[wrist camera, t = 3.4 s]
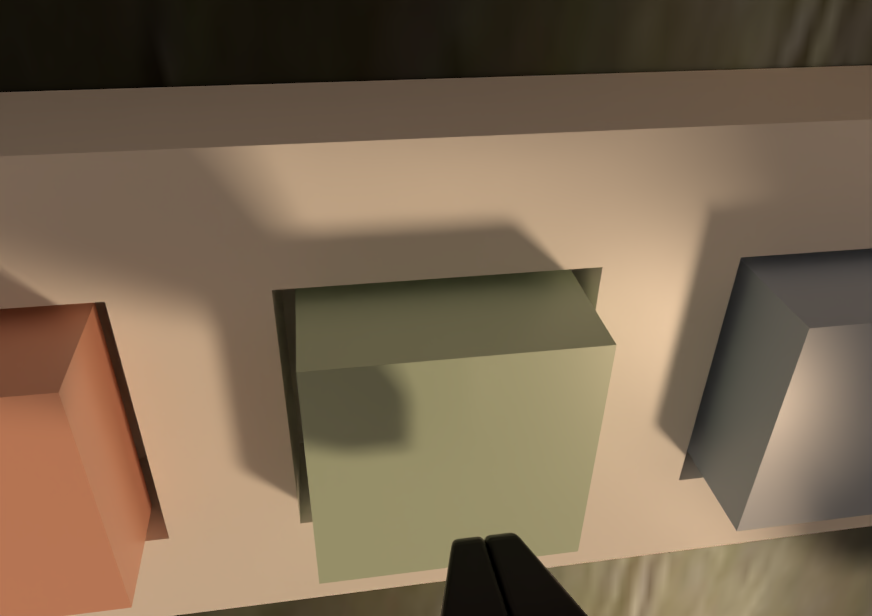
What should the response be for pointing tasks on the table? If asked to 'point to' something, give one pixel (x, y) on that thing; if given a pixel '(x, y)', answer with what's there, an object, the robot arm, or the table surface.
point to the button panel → (412, 270)
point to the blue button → (791, 392)
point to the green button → (448, 416)
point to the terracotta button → (65, 468)
